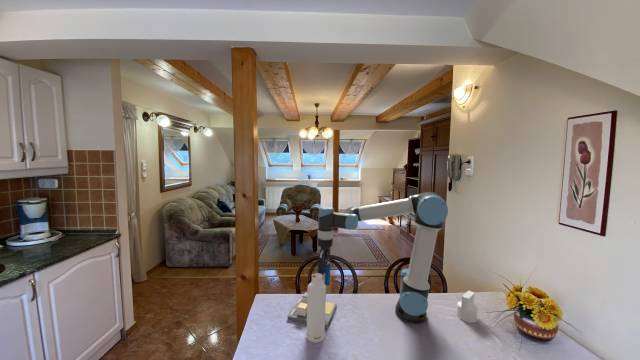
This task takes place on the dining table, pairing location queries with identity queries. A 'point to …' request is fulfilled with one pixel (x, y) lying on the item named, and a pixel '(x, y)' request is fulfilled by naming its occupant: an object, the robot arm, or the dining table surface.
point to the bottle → (316, 309)
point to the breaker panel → (294, 317)
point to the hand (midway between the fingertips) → (323, 281)
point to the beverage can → (327, 272)
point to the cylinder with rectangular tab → (467, 308)
